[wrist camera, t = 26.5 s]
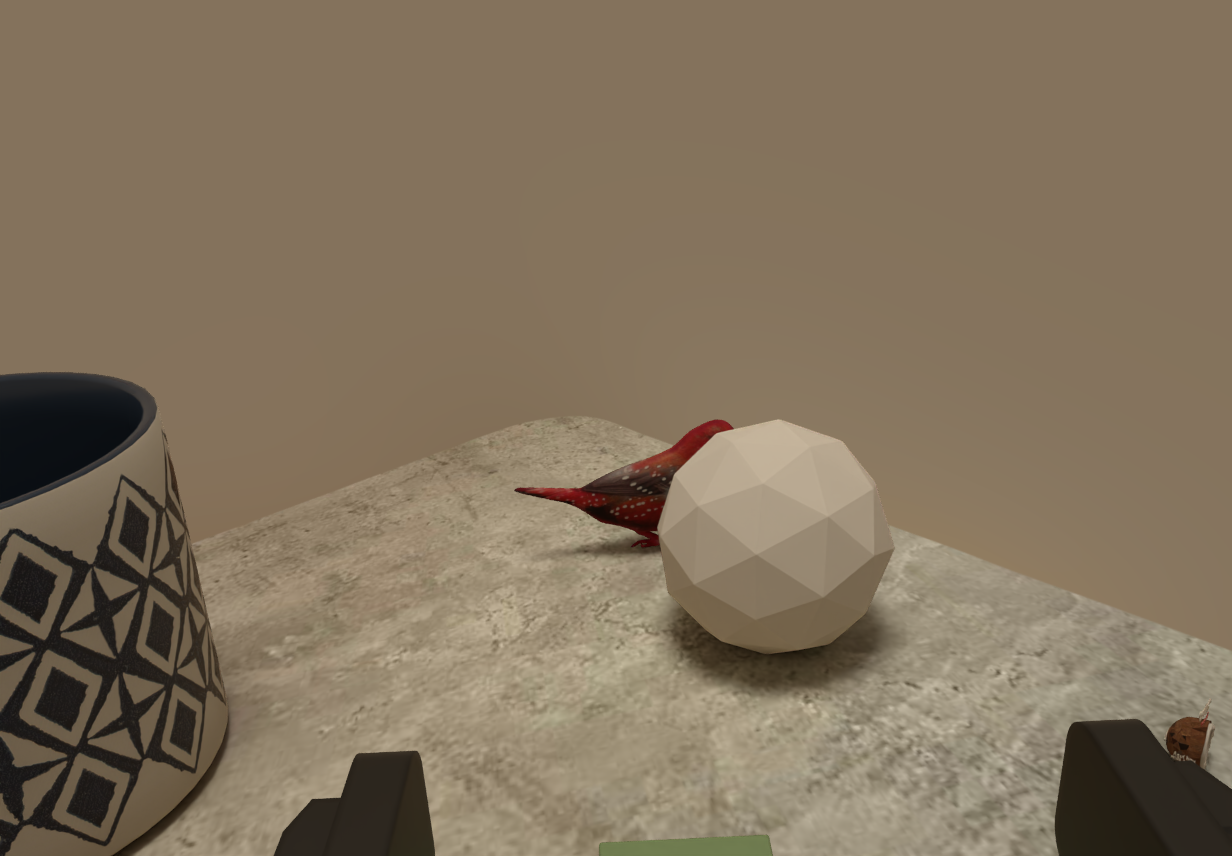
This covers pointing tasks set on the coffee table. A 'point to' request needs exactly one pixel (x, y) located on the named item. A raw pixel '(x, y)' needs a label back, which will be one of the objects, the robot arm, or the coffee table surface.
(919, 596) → the coffee table surface
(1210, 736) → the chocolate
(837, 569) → the geometric sphere
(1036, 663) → the coffee table surface
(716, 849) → the green bar
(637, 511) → the decorative bird figurine
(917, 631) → the coffee table surface
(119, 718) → the planter
